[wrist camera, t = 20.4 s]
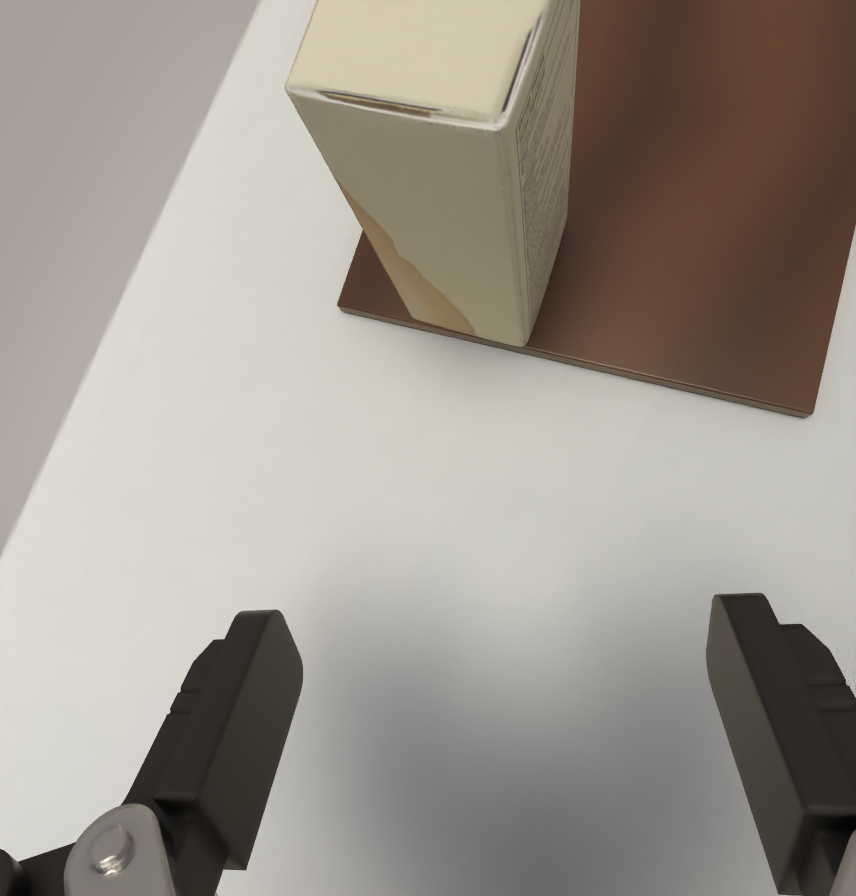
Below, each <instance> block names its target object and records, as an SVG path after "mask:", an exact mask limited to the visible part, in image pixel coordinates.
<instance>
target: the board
mask: <svg viewBox="0 0 856 896" xmlns="http://www.w3.org/2000/svg"><path fill="white" fill-rule="evenodd" d="M855 226H856V0H580V17H579V34H578V49H577V66H576V82H575V96H574V115H573V130H572V145H571V159H570V174H569V190H568V208H567V220H566V224H565V227H564V231H563V234H562V238H561V241H560V245H559V248H558V252H557V255H556V258H555V262H554V265H553V268H552V271H551V274H550V278H549V281H548V284H547V288H546V291H545V294H544V297H543V300H542V303H541V306H540V309H539V312H538V315H537V318H536V321H535V324H534V326H533V329H532V332H531V334H530V337H529V340H528V342H527V344H526V345H525V346H523V347H517V346H513V345H509V344H505V343H500V342H497V341H492V340H488V339H484V338H480V337H476V336H473V335H469V334H465V333H461V332H458V331H454V330H450V329H447V328H443V327H440V326H436V325H433V324H429V323H426V322H423V321H419V320H416V319H414V318H413V317H412V316H411V315H410V313H409V311H408V309H407V307H406V306H405V304H404V302H403V300H402V298H401V297H400V295H399V293H398V291H397V289H396V288H395V286H394V284H393V282H392V280H391V279H390V277H389V275H388V273H387V272H386V270H385V268H384V266H383V264H382V263H381V261H380V259H379V257H378V255H377V253H376V252H375V250H374V248H373V246H372V244H371V243H370V241H369V239H368V237H367V235H366V234H365V232H364V230H363V231H362V234H361V237H360V240H359V243H358V245H357V248H356V251H355V254H354V257H353V260H352V263H351V266H350V269H349V271H348V274H347V277H346V280H345V283H344V286H343V289H342V292H341V295H340V298H339V300H338V303H337V306H338V307H339V308H340V310H341V311H342V312H347V313H351V314H355V315H360V316H364V317H368V318H373V319H377V320H381V321H386V322H390V323H394V324H399V325H403V326H407V327H412V328H416V329H420V330H425V331H429V332H433V333H438V334H442V335H446V336H451V337H455V338H459V339H464V340H468V341H472V342H477V343H481V344H485V345H490V346H494V347H498V348H503V349H507V350H511V351H516V352H520V353H524V354H529V355H533V356H537V357H542V358H546V359H550V360H555V361H559V362H563V363H568V364H572V365H576V366H581V367H585V368H589V369H594V370H598V371H602V372H607V373H611V374H615V375H620V376H624V377H628V378H633V379H637V380H641V381H646V382H650V383H654V384H659V385H663V386H667V387H672V388H676V389H680V390H685V391H689V392H693V393H698V394H702V395H706V396H711V397H715V398H719V399H724V400H728V401H733V402H737V403H741V404H746V405H750V406H754V407H759V408H763V409H767V410H772V411H776V412H780V413H785V414H789V415H793V416H798V417H802V418H807V417H808V416H810V415H812V414H813V412H814V408H815V404H816V399H817V395H818V390H819V386H820V381H821V377H822V372H823V368H824V364H825V359H826V355H827V350H828V346H829V341H830V337H831V332H832V328H833V324H834V319H835V315H836V310H837V306H838V301H839V297H840V293H841V288H842V284H843V279H844V275H845V270H846V266H847V261H848V257H849V253H850V248H851V244H852V239H853V235H854V230H855Z"/></svg>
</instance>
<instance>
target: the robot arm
mask: <svg viewBox="0 0 856 896" xmlns="http://www.w3.org/2000/svg"><path fill="white" fill-rule="evenodd" d="M706 661H707V670H708V676H709V680H710V684H711V688H712V691H713V694H714V697H715V700H716V703H717V706H718V709H719V712H720V716H721V719H722V722H723V725H724V728H725V731H726V734H727V737H728V740H729V743H730V746H731V749H732V753H733V756H734V759H735V762H736V765H737V768H738V771H739V774H740V777H741V780H742V783H743V786H744V790H745V793H746V796H747V799H748V802H749V805H750V808H751V811H752V814H753V817H754V820H755V823H756V826H757V830H758V833H759V836H760V839H761V842H762V845H763V848H764V851H765V854H766V857H767V860H768V863H769V867H770V870H771V873H772V876H773V879H774V882H775V885H776V888H777V891H778V894H779V895H802V896H856V698H855V696H854V694H853V692H852V691H851V689H850V687H849V686H847V685H846V679H845V678H844V676H843V674H842V672H841V670H840V668H839V666H838V665H837V663H836V661H835V659H834V657H833V655H832V653H831V652H830V650H829V649H828V648H827V647H826V646H825V645H824V644H823V643H822V642H821V641H820V640H819V639H818V638H816V637H815V636H814V635H813V634H812V633H811V632H810V631H809V630H808V629H807V628H806V627H805V626H803V625H802V624H783V625H779V623H778V620H777V618H776V616H775V614H774V612H773V610H772V608H771V606H770V604H769V602H768V600H767V598H766V597H765V596H764V595H763V594H762V593H742V594H716V595H714V597H713V600H712V608H711V616H710V624H709V632H708V640H707V648H706ZM302 683H303V665H302V660H301V657H300V654H299V652H298V650H297V647H296V645H295V642H294V640H293V638H292V635H291V633H290V631H289V628H288V626H287V624H286V621H285V619H284V616H283V615H282V613H281V612H280V611H279V610H256V611H241V612H239V613H238V614H237V615H236V616H235V618H234V620H233V622H232V624H231V626H230V628H229V631H228V633H227V635H226V637H225V639H221V640H213V641H212V642H211V643H210V644H209V646H208V647H207V648H206V649H205V650H204V651H203V652H202V653H201V654H200V655H199V656H198V657H197V659H196V660H195V661H194V662H193V663H192V665H191V668H190V670H189V672H188V674H187V676H186V678H185V680H184V682H183V684H182V686H181V692H180V693H178V694H177V696H176V698H175V700H174V702H173V704H172V706H171V708H170V710H171V711H170V714H167V716H166V718H165V720H164V722H163V724H162V726H161V728H160V730H159V732H158V734H157V736H156V738H155V740H154V742H153V744H152V746H151V748H150V751H149V753H148V755H147V757H146V759H145V761H144V763H143V765H142V767H141V769H140V771H139V773H138V775H137V777H136V779H135V781H134V783H133V785H132V787H131V789H130V791H129V793H128V795H127V796H126V798H125V800H124V801H123V803H122V804H121V806H119V807H116V808H114V809H112V810H110V811H108V812H106V813H105V814H103V815H102V816H100V817H99V818H98V819H96V820H95V821H94V822H93V823H92V824H91V825H90V826H89V827H88V828H87V829H86V830H85V831H84V832H83V833H82V835H81V836H80V837H79V838H78V840H77V842H75V843H72V844H70V845H67V846H64V847H61V848H58V849H55V850H52V851H49V852H46V853H43V854H40V855H37V856H34V857H31V858H28V859H25V860H22V861H19V862H17V861H16V860H15V859H13V858H12V857H11V856H10V855H9V854H8V853H7V852H5V851H4V850H2V849H0V896H218V895H217V893H216V890H217V887H218V884H219V881H220V878H221V875H222V872H223V869H225V870H246V869H247V865H248V862H249V859H250V856H251V852H252V849H253V846H254V843H255V839H256V836H257V833H258V829H259V826H260V823H261V820H262V816H263V813H264V810H265V807H266V803H267V800H268V797H269V794H270V790H271V787H272V784H273V781H274V777H275V774H276V771H277V768H278V764H279V761H280V758H281V755H282V751H283V748H284V745H285V741H286V738H287V735H288V732H289V728H290V725H291V722H292V719H293V715H294V712H295V709H296V706H297V702H298V699H299V696H300V693H301V689H302Z"/></svg>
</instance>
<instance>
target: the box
mask: <svg viewBox="0 0 856 896" xmlns="http://www.w3.org/2000/svg"><path fill="white" fill-rule="evenodd" d="M579 17H580V0H316V1H315V4H314V7H313V9H312V12H311V15H310V18H309V21H308V23H307V26H306V29H305V31H304V34H303V37H302V39H301V42H300V45H299V48H298V50H297V53H296V56H295V59H294V61H293V64H292V67H291V69H290V72H289V74H288V77H287V80H286V84H285V90H286V92H287V94H288V96H289V97H290V99H291V101H292V103H293V104H294V106H295V108H296V110H297V112H298V113H299V115H300V117H301V119H302V120H303V122H304V124H305V126H306V128H307V129H308V131H309V133H310V135H311V136H312V138H313V140H314V142H315V143H316V145H317V147H318V149H319V151H320V152H321V154H322V156H323V158H324V160H325V162H326V164H327V165H328V167H329V169H330V171H331V172H332V174H333V176H334V178H335V180H336V181H337V183H338V185H339V187H340V189H341V191H342V192H343V194H344V196H345V198H346V200H347V201H348V203H349V205H350V207H351V208H352V210H353V212H354V214H355V216H356V218H357V219H358V221H359V223H360V225H361V227H362V229H363V230H364V232H365V234H366V235H367V237H368V239H369V241H370V243H371V244H372V246H373V248H374V250H375V252H376V253H377V255H378V257H379V259H380V261H381V263H382V264H383V266H384V268H385V270H386V272H387V273H388V275H389V277H390V279H391V280H392V282H393V284H394V286H395V288H396V289H397V291H398V293H399V295H400V297H401V298H402V300H403V302H404V304H405V306H406V307H407V309H408V311H409V313H410V315H411V316H412V317H413V318H414V319H416V320H419V321H423V322H426V323H429V324H433V325H436V326H440V327H443V328H447V329H450V330H454V331H458V332H461V333H465V334H469V335H473V336H476V337H480V338H484V339H488V340H492V341H497V342H500V343H505V344H509V345H513V346H517V347H523V346H525V345H526V344H527V342H528V340H529V337H530V334H531V332H532V329H533V326H534V324H535V321H536V318H537V315H538V312H539V309H540V306H541V303H542V300H543V297H544V294H545V291H546V288H547V284H548V281H549V278H550V274H551V271H552V268H553V265H554V262H555V258H556V255H557V252H558V248H559V245H560V241H561V238H562V234H563V231H564V227H565V224H566V220H567V208H568V190H569V174H570V159H571V145H572V130H573V115H574V96H575V82H576V66H577V49H578V34H579Z"/></svg>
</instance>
